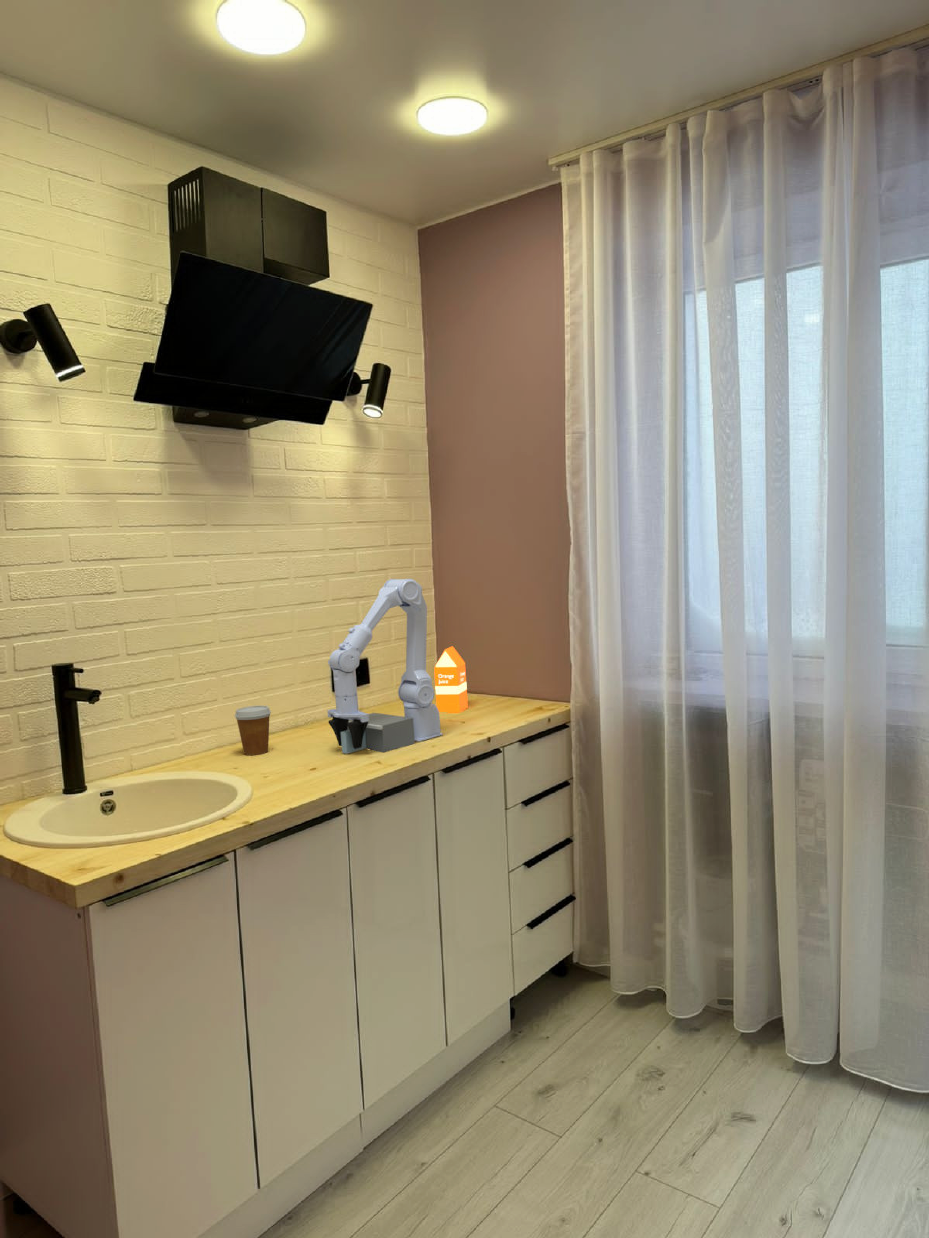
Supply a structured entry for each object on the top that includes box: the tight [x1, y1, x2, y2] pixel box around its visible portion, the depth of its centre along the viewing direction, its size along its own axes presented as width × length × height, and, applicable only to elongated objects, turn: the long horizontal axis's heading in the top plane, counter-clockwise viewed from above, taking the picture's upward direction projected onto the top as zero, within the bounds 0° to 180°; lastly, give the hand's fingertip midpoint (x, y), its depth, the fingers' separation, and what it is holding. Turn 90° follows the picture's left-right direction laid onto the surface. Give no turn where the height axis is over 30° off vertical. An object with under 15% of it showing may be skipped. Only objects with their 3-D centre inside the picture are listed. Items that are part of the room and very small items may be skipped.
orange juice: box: [433, 645, 469, 714], centre depth 276 cm, size 8×9×20 cm
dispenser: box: [347, 712, 416, 753], centre depth 234 cm, size 12×16×7 cm
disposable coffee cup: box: [234, 705, 272, 756], centre depth 234 cm, size 10×10×12 cm
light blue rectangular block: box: [341, 729, 367, 754], centre depth 231 cm, size 14×2×6 cm, turn 137°
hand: (350, 746), depth 227 cm, fingers open, 5 cm apart
